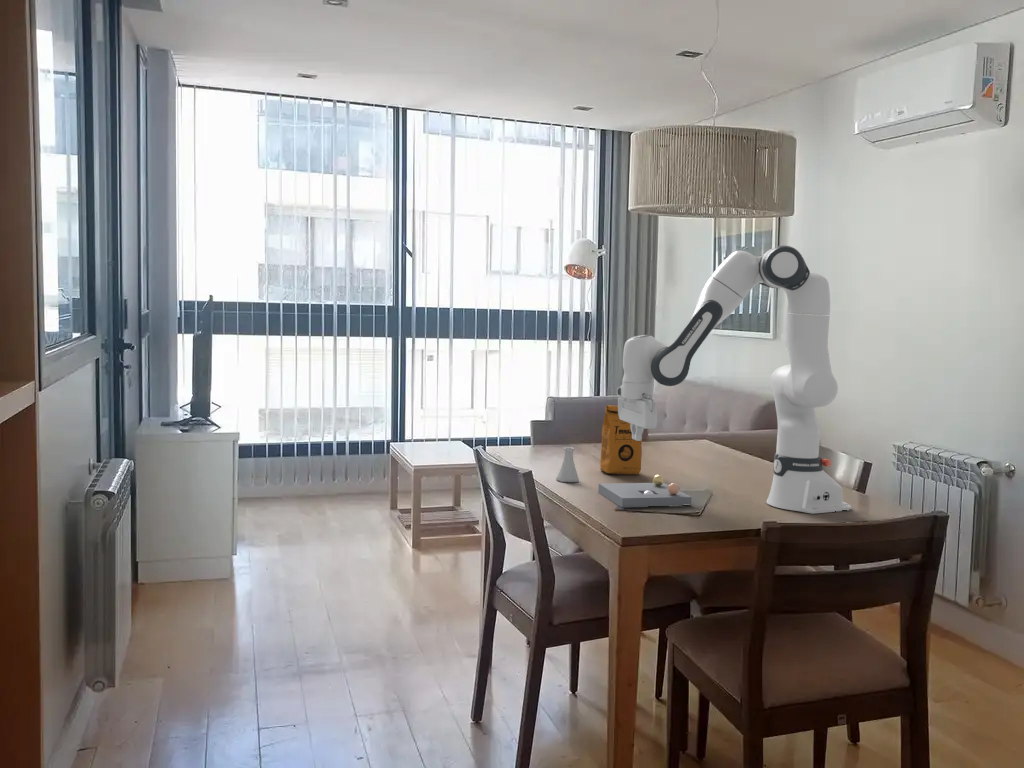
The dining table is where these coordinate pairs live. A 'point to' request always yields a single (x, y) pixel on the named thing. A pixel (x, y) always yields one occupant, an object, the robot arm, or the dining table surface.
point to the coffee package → (619, 445)
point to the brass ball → (658, 480)
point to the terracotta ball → (673, 488)
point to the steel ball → (648, 492)
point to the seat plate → (642, 495)
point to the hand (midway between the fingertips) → (636, 440)
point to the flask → (568, 467)
